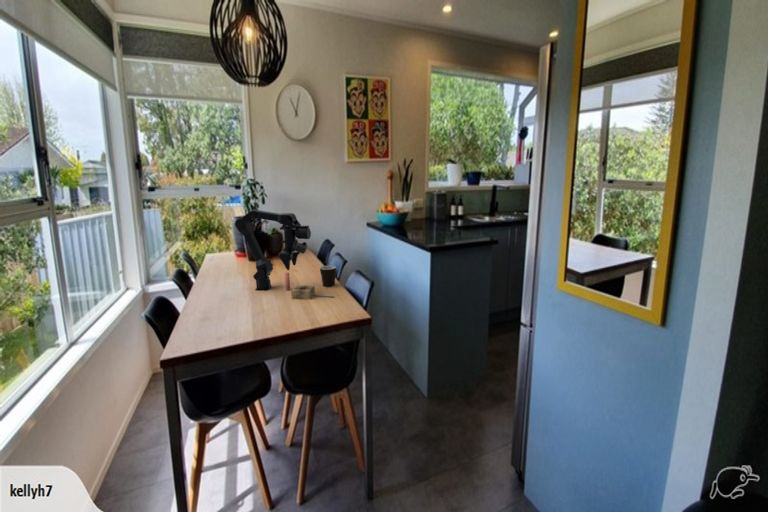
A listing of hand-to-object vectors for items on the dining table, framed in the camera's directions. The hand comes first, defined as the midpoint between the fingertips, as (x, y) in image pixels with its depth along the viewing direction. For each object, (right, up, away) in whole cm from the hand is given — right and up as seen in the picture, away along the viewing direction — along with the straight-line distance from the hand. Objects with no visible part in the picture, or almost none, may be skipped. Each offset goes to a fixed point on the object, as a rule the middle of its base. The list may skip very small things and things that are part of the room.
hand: (291, 267), depth 192 cm
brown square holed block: (+8, -14, -7) cm, 18 cm away
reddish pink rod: (-2, -12, +3) cm, 12 cm away
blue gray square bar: (+18, -14, -9) cm, 25 cm away
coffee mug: (+18, -10, +10) cm, 23 cm away
